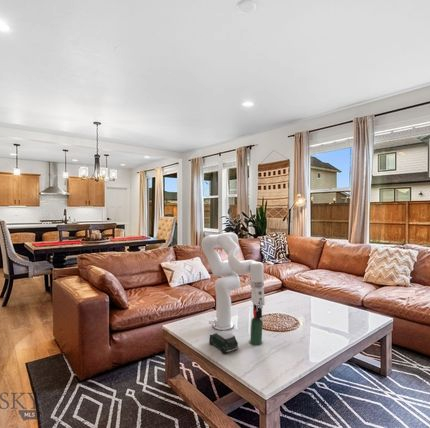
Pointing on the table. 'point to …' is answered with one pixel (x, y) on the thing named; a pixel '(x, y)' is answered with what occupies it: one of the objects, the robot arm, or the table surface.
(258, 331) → the bottle
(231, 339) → the miniature car
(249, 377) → the table surface
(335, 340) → the table surface
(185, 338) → the table surface
